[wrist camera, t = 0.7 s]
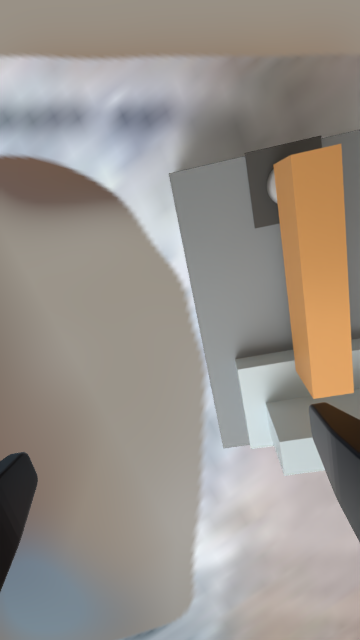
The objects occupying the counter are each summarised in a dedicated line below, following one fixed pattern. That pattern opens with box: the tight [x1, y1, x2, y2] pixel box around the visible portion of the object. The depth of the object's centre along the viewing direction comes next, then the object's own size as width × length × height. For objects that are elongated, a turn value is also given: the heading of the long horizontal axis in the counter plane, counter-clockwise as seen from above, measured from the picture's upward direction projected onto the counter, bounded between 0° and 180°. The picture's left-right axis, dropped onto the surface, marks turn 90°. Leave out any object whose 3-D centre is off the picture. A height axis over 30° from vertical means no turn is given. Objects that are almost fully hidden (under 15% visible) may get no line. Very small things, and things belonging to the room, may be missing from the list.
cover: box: [235, 338, 360, 476], centre depth 16 cm, size 7×5×4 cm
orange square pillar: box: [267, 144, 354, 399], centre depth 14 cm, size 2×9×4 cm, turn 12°
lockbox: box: [169, 130, 360, 448], centre depth 19 cm, size 10×15×5 cm, turn 12°
